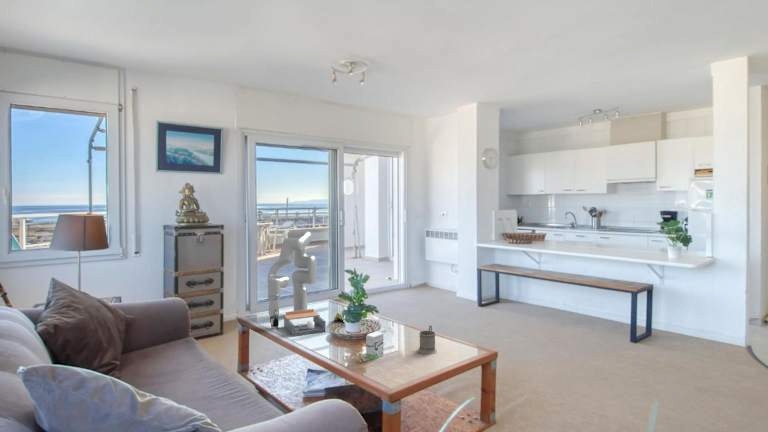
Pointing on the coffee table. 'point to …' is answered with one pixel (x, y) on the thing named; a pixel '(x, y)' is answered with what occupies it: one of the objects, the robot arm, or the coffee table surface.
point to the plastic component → (338, 316)
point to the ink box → (374, 345)
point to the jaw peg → (272, 324)
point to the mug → (427, 342)
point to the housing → (306, 327)
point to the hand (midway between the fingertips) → (274, 324)
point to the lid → (301, 314)
